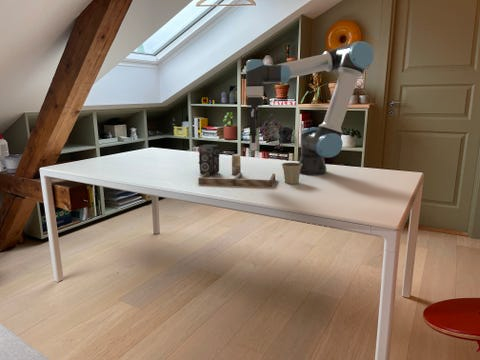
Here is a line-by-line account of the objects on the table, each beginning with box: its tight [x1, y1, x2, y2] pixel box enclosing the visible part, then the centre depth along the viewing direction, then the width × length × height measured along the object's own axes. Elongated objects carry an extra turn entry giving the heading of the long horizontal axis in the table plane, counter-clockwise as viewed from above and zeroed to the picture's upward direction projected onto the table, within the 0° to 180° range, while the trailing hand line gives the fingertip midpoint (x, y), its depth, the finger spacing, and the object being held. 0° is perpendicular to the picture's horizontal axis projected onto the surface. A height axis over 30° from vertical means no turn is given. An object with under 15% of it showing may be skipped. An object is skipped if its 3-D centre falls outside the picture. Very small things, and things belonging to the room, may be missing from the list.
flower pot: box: [281, 162, 302, 185], centre depth 165 cm, size 9×9×9 cm
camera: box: [197, 144, 221, 176], centre depth 183 cm, size 10×10×15 cm
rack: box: [197, 172, 276, 188], centre depth 168 cm, size 34×14×3 cm, turn 79°
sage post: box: [249, 127, 260, 152], centre depth 162 cm, size 4×4×10 cm
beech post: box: [231, 153, 242, 176], centre depth 183 cm, size 4×4×10 cm
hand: (254, 149), depth 163 cm, fingers closed on sage post, 4 cm apart
